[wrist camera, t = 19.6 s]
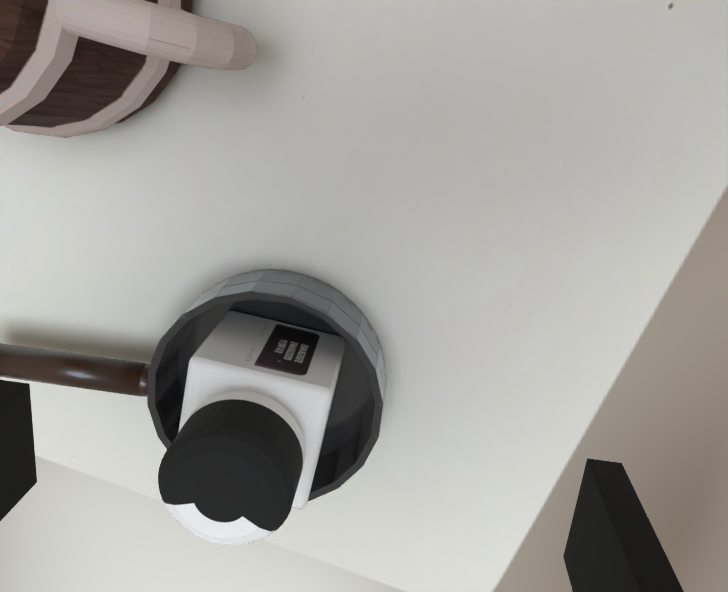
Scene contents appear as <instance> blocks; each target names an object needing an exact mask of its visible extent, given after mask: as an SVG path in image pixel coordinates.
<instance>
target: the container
mask: <svg viewBox="0 0 728 592" xmlns="http://www.w3.org/2000/svg"><path fill="white" fill-rule="evenodd" d="M345 345H346V341H345V340H344V338H343V337H340V336H336V335H332V334H328V333H324V332H319V331H315V330H311V329H307V328H303V327H298V326H294V325H290V324H286V323H282V322H278V321H273V320H269V319H265V318H261V317H257V316H253V315H248V314H244V313H240V312H236V311H228V312H227V313H226V314H225V315H224V316H223V318H222V319H221V320H220V321H219V323H218V324H217V325H216V327H215V328H214V329H213V330H212V332H211V333H210V334H209V336H208V337H207V338H206V339H205V341H204V342H203V343H202V344H201V346H200V347H199V348H198V350H197V351H196V352H195V353H194V355H193V356H192V357H191V359H190V361H189V366H188V372H187V379H186V386H185V392H184V399H183V405H182V412H181V419H180V425H179V432H178V434H177V436H176V438H175V439H174V441H173V442H172V444H171V445H170V447H169V448H168V450H167V451H166V453H165V455H164V457H163V459H162V461H161V464H160V467H159V474H158V484H159V490H160V494H161V497H162V500H163V502H164V504H165V506H166V507H167V509H168V510H169V512H170V513H171V515H172V516H173V517H174V518H175V520H176V521H177V522H178V523H179V524H180V525H181V526H182V527H184V528H185V529H186V530H188V531H189V532H191V533H192V534H194V535H196V536H197V537H199V538H202V539H204V540H207V541H210V542H214V543H218V544H225V545H237V544H246V543H251V542H255V541H258V540H261V539H263V538H265V537H267V536H269V535H270V534H272V533H273V532H275V531H276V530H277V529H278V528H279V527H280V526H281V525H282V524H283V523H284V521H285V520H286V518H287V517H288V515H289V513H290V511H291V507H292V508H296V509H302V508H304V507H305V506H306V504H307V501H308V497H309V493H310V490H311V486H312V482H313V478H314V474H315V470H316V466H317V462H318V458H319V454H320V450H321V446H322V442H323V438H324V434H325V430H326V426H327V421H328V417H329V413H330V409H331V404H332V400H333V396H334V392H335V388H336V383H337V379H338V375H339V371H340V366H341V362H342V358H343V354H344V349H345Z"/></svg>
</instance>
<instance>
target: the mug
mask: <svg viewBox="0 0 728 592" xmlns="http://www.w3.org/2000/svg"><path fill="white" fill-rule="evenodd" d="M191 7H192V0H0V126H2V125H3V126H5V127H7V128H9V129H11V130H14V131H19V132H24V133H32V134H40V135H48V136H56V137H64V138H67V137H71V136H76V135H80V134H85V133H90V132H94V131H99V130H103V129H106V128H108V127H110V126H111V125H113V124H115V123H120V122H123V121H124V120H126V119H127V118H129V117H130V116H132V115H134V114H135V113H137V112H138V111H140V110H141V109H143V108H144V107H146V106H148V105H149V104H151V103H152V102H154V100H155V99H156V98H157V96H158V95H159V94H160V93H161V91H162V90H163V89H164V87H165V86H166V85H167V83H168V82H169V81H170V79H171V78H172V77H173V75H174V74H175V73H176V71H177V70H178V67H179V64H180V63H183V64H189V65H194V66H199V67H205V68H210V69H224V70H241V69H245V68H247V67H248V66H250V65H251V64H252V62H253V61H254V59H255V57H256V54H257V45H256V41H255V39H254V37H253V35H252V34H251V33H250V32H249V31H248V30H247V29H245V28H243V27H241V26H237V25H233V24H229V23H225V22H221V21H217V20H213V19H209V18H206V17H202V16H198V15H195V14H191Z"/></svg>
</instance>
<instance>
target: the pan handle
mask: <svg viewBox="0 0 728 592" xmlns="http://www.w3.org/2000/svg"><path fill="white" fill-rule="evenodd" d="M149 367H150V364H146V363H139V362H132V361H125V360H117V359H110V358H103V357H96V356H88V355H81V354H74V353H67V352H59V351H52V350H45V349H38V348H30V347H23V346H16V345H9V344H1V343H0V377H6V378H13V379H20V380H27V381H34V382H41V383H49V384H56V385H63V386H70V387H77V388H84V389H92V390H99V391H106V392H113V393H120V394H127V395H135V396H142V397H147V396H148V370H149Z"/></svg>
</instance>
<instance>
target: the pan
mask: <svg viewBox="0 0 728 592" xmlns="http://www.w3.org/2000/svg"><path fill="white" fill-rule="evenodd" d="M228 311H236V312H240V313H244V314H248V315H253V316H257V317H261V318H265V319H269V320H273V321H278V322H282V323H286V324H290V325H294V326H298V327H303V328H307V329H311V330H315V331H319V332H324V333H328V334H332V335H336V336H340V337H343V338H344V340H345V341H346V345H345V349H344V354H343V358H342V362H341V366H340V371H339V375H338V379H337V383H336V388H335V392H334V396H333V400H332V404H331V409H330V413H329V417H328V421H327V426H326V430H325V434H324V438H323V442H322V446H321V450H320V454H319V458H318V462H317V466H316V470H315V474H314V478H313V482H312V486H311V490H310V493H309V497H308V501H310V500H313V499H315V498H317V497H319V496H322V495H324V494H326V493H328V492H331V491H333V490H335V489H337V488H339V487H340V486H341V485H342V484H344V483H345V482H346V481H347V480H348V479H349V478H350V477H351V476H352V475H354V474H355V473H356V472H357V471H358V470H359V469H360V468H361V467H362V466H363V465H364V463H365V462H366V460H367V458H368V456H369V454H370V452H371V450H372V449H373V447H374V445H375V443H376V441H377V439H378V437H379V431H380V424H381V416H382V409H383V401H384V391H385V382H386V373H385V365H384V358H383V354H382V350H381V346H380V344H379V341H378V338H377V336H376V334H375V332H374V330H373V328H372V327H371V325H370V323H369V322H368V320H367V319H366V318H365V316H364V315H363V313H362V312H361V311H360V310H359V309H358V308H357V307H356V306H355V305H354V304H353V302H352V301H350V300H349V299H348V298H347V297H345V296H344V295H343V294H342V293H341V292H339V291H337V290H336V289H334V288H333V287H331V286H330V285H328V284H326V283H324V282H322V281H319V280H317V279H315V278H312V277H309V276H306V275H303V274H300V273H295V272H290V271H282V270H259V271H253V272H247V273H242V274H239V275H236V276H233V277H230V278H228V279H226V280H224V281H222V282H220V283H218V284H216V285H215V286H214V287H212V288H211V289H209V290H208V291H206V292H204V293H203V294H202V295H201V296H200V297H199V298H198V299H197V300H196V301H195V302H194V303H193V304H192V305H191V306H190V307H189V308H188V309H187V310H186V311H185V312H184V313H183V314H182V316H181V317H180V318H179V319H178V320H177V321H176V322H175V323H174V325H173V326H172V327H171V328H170V329H169V330H168V331H167V332H166V334H165V335H164V336H163V337H162V338H161V339H160V341H159V343H158V346H157V349H156V351H155V354H154V356H153V359H152V362H151V364H150V367H149V370H148V408H149V411H150V414H151V417H152V420H153V423H154V426H155V429H156V432H157V435H158V437H159V439H160V440H161V441H162V443H163V444H164V446H165V447H166V448H167V450H168V448H169V447H170V445H171V444H172V442H173V441H174V439H175V438H176V436H177V434H178V432H179V425H180V419H181V412H182V405H183V399H184V392H185V386H186V379H187V372H188V366H189V361H190V359H191V357H192V356H193V355H194V353H195V352H196V351H197V350H198V348H199V347H200V346H201V344H202V343H203V342H204V341H205V339H206V338H207V337H208V336H209V334H210V333H211V332H212V330H213V329H214V328H215V327H216V325H217V324H218V323H219V321H220V320H221V319H222V318H223V316H224V315H225V314H226V313H227V312H228Z"/></svg>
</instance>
